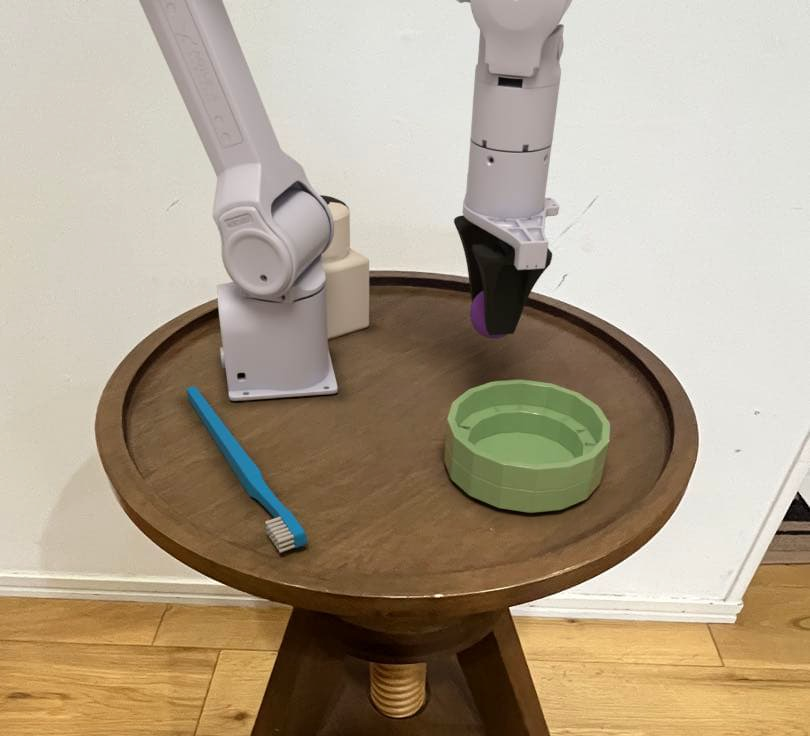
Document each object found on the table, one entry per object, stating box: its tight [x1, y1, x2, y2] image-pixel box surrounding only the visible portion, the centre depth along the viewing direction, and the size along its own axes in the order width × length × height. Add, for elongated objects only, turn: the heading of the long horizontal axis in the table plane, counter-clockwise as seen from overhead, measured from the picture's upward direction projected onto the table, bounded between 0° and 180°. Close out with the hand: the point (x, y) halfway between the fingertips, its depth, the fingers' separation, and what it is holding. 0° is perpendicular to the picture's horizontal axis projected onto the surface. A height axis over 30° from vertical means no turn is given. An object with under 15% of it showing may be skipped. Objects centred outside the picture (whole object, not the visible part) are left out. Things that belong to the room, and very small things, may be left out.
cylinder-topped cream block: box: [319, 194, 370, 341], centre depth 81 cm, size 7×7×12 cm
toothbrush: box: [186, 385, 308, 554], centre depth 66 cm, size 23×2×2 cm
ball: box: [469, 291, 509, 340], centre depth 68 cm, size 4×4×4 cm
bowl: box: [443, 378, 611, 514], centre depth 66 cm, size 12×12×4 cm
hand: (493, 320), depth 68 cm, fingers closed on ball, 4 cm apart
